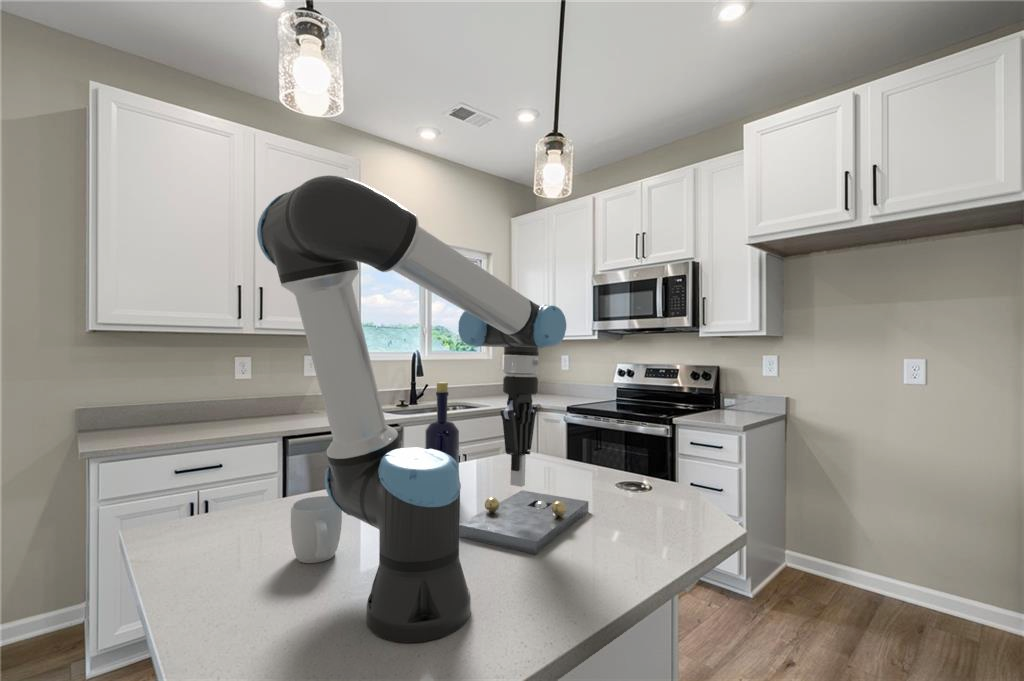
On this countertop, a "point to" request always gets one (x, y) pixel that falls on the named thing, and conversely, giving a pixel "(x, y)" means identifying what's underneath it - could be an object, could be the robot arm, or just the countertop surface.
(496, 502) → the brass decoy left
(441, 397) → the bottle
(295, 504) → the mug
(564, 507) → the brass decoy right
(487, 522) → the plate
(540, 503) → the steel ball
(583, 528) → the countertop surface
